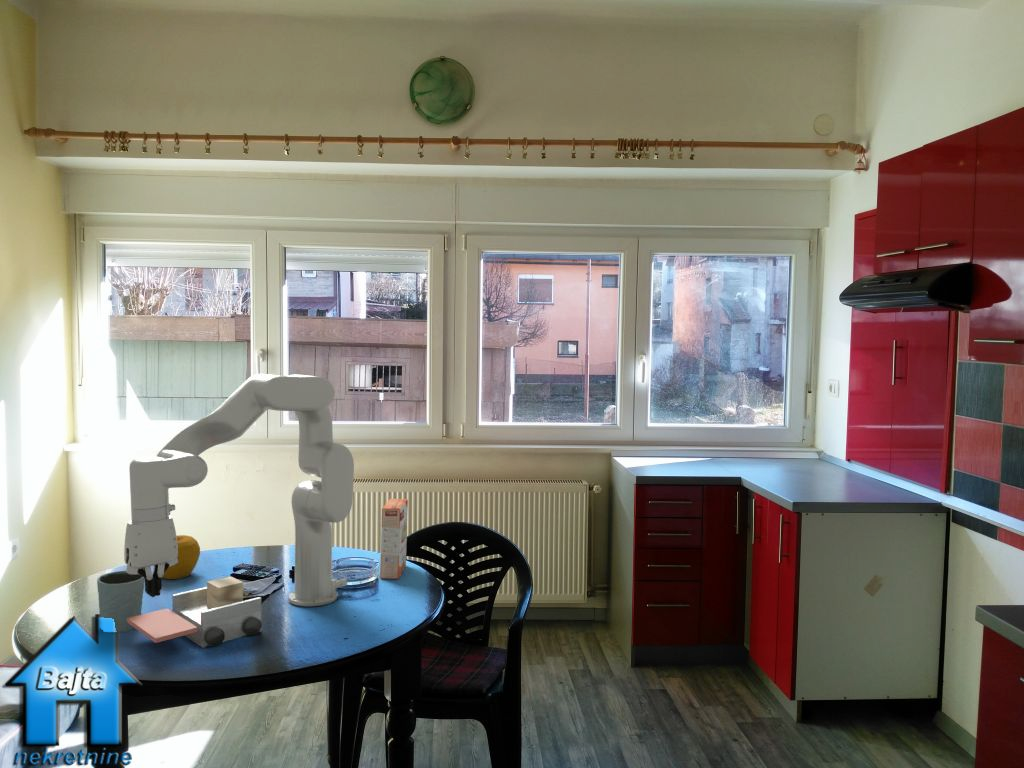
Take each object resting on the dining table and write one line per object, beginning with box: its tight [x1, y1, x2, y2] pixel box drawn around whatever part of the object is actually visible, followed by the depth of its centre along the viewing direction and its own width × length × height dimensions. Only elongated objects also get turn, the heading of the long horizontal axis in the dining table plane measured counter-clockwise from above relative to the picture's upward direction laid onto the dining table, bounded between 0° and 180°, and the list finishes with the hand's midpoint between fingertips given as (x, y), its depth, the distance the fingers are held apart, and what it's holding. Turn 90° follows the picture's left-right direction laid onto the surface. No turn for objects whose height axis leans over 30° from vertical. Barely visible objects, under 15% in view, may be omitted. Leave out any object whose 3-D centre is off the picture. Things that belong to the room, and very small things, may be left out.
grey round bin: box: [96, 570, 145, 633], centre depth 179 cm, size 10×10×12 cm
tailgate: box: [127, 608, 197, 644], centre depth 170 cm, size 1×16×9 cm
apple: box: [153, 534, 201, 580], centre depth 217 cm, size 13×13×11 cm
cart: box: [172, 586, 263, 648], centre depth 179 cm, size 14×18×8 cm
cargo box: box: [206, 576, 244, 609], centre depth 180 cm, size 6×6×6 cm
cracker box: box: [379, 498, 409, 580], centre depth 225 cm, size 14×6×21 cm, turn 179°
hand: (153, 594), depth 168 cm, fingers closed
